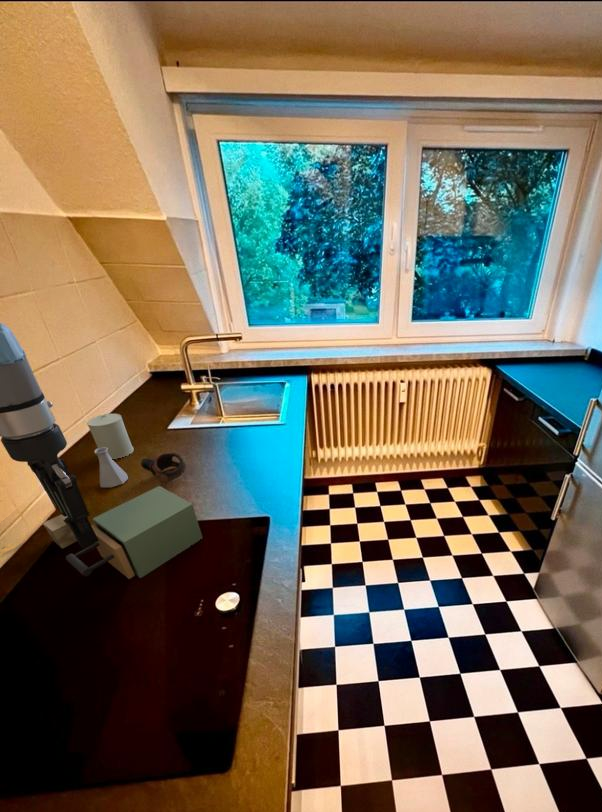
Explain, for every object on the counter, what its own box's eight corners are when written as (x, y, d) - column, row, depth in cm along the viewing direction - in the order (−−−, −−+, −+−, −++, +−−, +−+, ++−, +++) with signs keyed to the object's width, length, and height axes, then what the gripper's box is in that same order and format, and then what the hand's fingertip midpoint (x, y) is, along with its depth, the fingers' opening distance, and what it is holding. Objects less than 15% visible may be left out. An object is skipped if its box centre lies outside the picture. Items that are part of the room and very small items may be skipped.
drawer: (98, 598, 72) (81, 568, 68) (71, 572, 78) (54, 543, 73) (189, 541, 85) (180, 513, 81) (160, 522, 91) (150, 495, 86)
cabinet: (140, 578, 77) (124, 542, 72) (109, 553, 83) (92, 518, 78) (202, 538, 87) (192, 504, 82) (171, 518, 93) (159, 485, 88)
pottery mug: (190, 465, 116) (188, 450, 109) (184, 493, 111) (182, 478, 104) (146, 460, 112) (141, 444, 106) (138, 488, 107) (132, 473, 101)
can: (133, 443, 127) (120, 409, 121) (134, 455, 120) (121, 419, 114) (101, 450, 123) (86, 415, 117) (101, 463, 117) (85, 426, 110)
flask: (103, 476, 110) (89, 445, 105) (131, 472, 112) (118, 441, 106) (96, 490, 104) (81, 458, 99) (126, 485, 106) (113, 453, 100)
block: (62, 548, 85) (52, 531, 82) (52, 540, 87) (42, 522, 85) (86, 536, 88) (77, 519, 86) (76, 528, 91) (67, 511, 88)
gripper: (73, 430, 60) (127, 545, 72) (39, 412, 66) (94, 520, 79) (16, 450, 54) (84, 569, 67) (-15, 428, 61) (52, 541, 74)
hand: (89, 543), depth 73 cm, fingers closed
